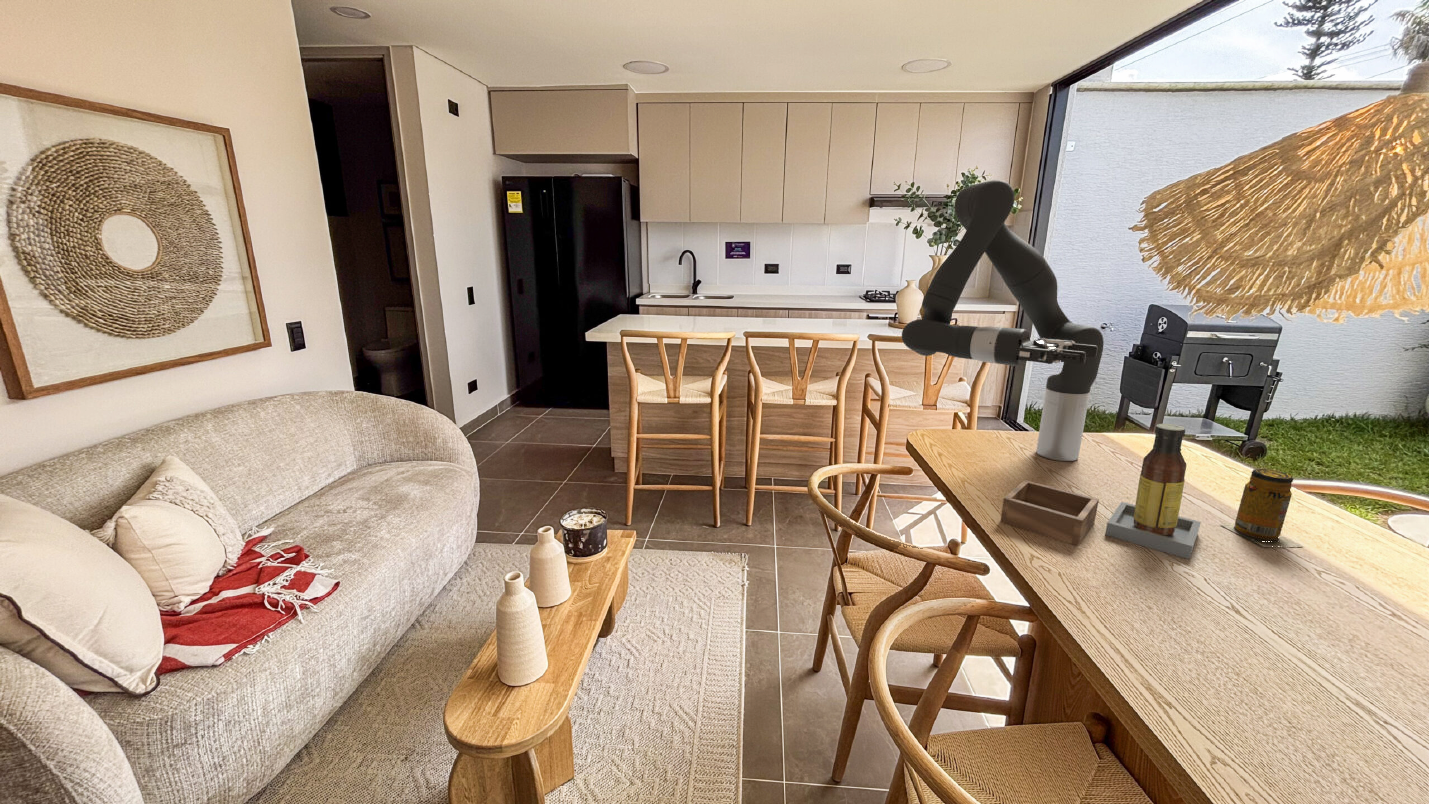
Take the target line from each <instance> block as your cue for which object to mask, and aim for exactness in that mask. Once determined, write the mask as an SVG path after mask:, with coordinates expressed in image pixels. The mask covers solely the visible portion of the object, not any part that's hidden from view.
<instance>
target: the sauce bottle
mask: <svg viewBox="0 0 1429 804" xmlns="http://www.w3.org/2000/svg"><path fill="white" fill-rule="evenodd" d="M1154 435H1155V438H1154V442H1153V446H1152V449H1151V450H1150V451H1149V452H1147V454H1146V455H1145V456H1144V457H1143V460H1142V466H1141V471H1140V474H1139V480H1138V487H1137V492H1136V499H1135V504H1134V505H1135V511H1134V525H1135V526H1136V527H1137V528H1138V529H1141V530H1144V531H1148V532H1151V533H1155V534H1159V535H1162V536H1169V535H1173V533H1174V532H1175V526H1177V521H1178V516H1180V514H1179V513H1180V509H1181V506H1182V505H1181V503H1182V499H1183V498H1182V497H1183V493H1184V487H1185V481H1186V479H1185V475H1186V472H1187V471H1186V470H1187V462H1186V461H1185V458H1184V457H1183V454H1182V443H1183V438H1184V437H1185V436H1186V428H1185V427H1183V426H1181V425H1177V424H1172V423H1158V424H1156V425H1155V429H1154Z"/></svg>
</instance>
